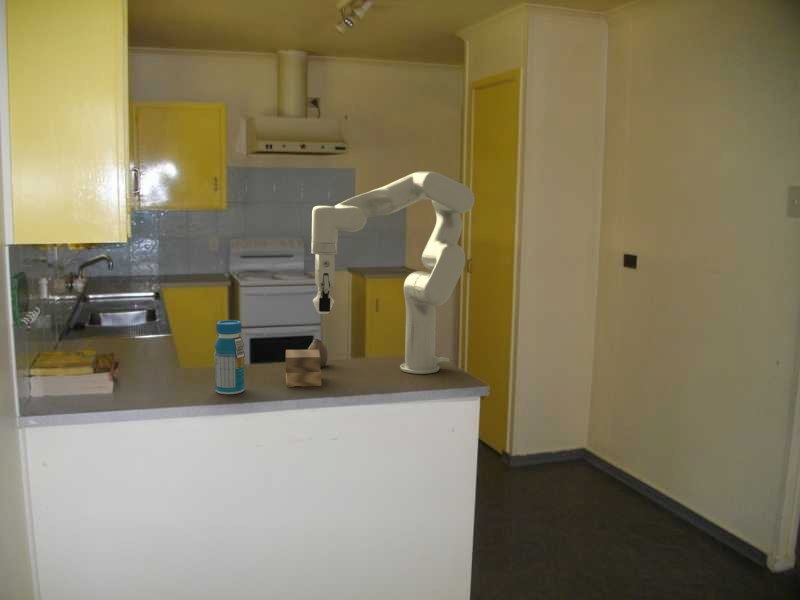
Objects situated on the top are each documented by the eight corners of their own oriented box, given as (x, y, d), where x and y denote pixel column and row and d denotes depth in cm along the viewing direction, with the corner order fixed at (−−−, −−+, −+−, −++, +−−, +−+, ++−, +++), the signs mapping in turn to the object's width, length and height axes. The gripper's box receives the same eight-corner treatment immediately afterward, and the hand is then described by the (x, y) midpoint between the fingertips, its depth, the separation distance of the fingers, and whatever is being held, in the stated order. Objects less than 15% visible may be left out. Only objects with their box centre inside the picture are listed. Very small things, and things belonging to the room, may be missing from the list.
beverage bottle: (217, 396, 210) (216, 325, 207) (212, 388, 218) (210, 320, 215) (248, 393, 214) (247, 323, 210) (241, 385, 221) (240, 318, 218)
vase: (324, 369, 242) (324, 342, 241) (303, 367, 243) (303, 341, 242) (330, 364, 249) (330, 338, 247) (310, 362, 250) (310, 336, 249)
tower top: (319, 363, 232) (319, 349, 231) (320, 372, 222) (320, 357, 221) (286, 364, 230) (285, 349, 230) (285, 372, 221) (285, 357, 220)
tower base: (318, 378, 233) (318, 363, 232) (321, 386, 223) (321, 371, 222) (285, 379, 231) (285, 364, 230) (287, 388, 221) (286, 373, 220)
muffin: (332, 311, 227) (333, 288, 226) (334, 314, 221) (335, 291, 220) (311, 311, 226) (312, 288, 225) (313, 314, 220) (313, 290, 219)
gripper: (341, 251, 213) (339, 314, 216) (333, 246, 230) (332, 305, 232) (314, 251, 212) (313, 314, 214) (308, 245, 228) (307, 305, 231)
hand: (323, 309), depth 223 cm, fingers closed on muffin, 6 cm apart
